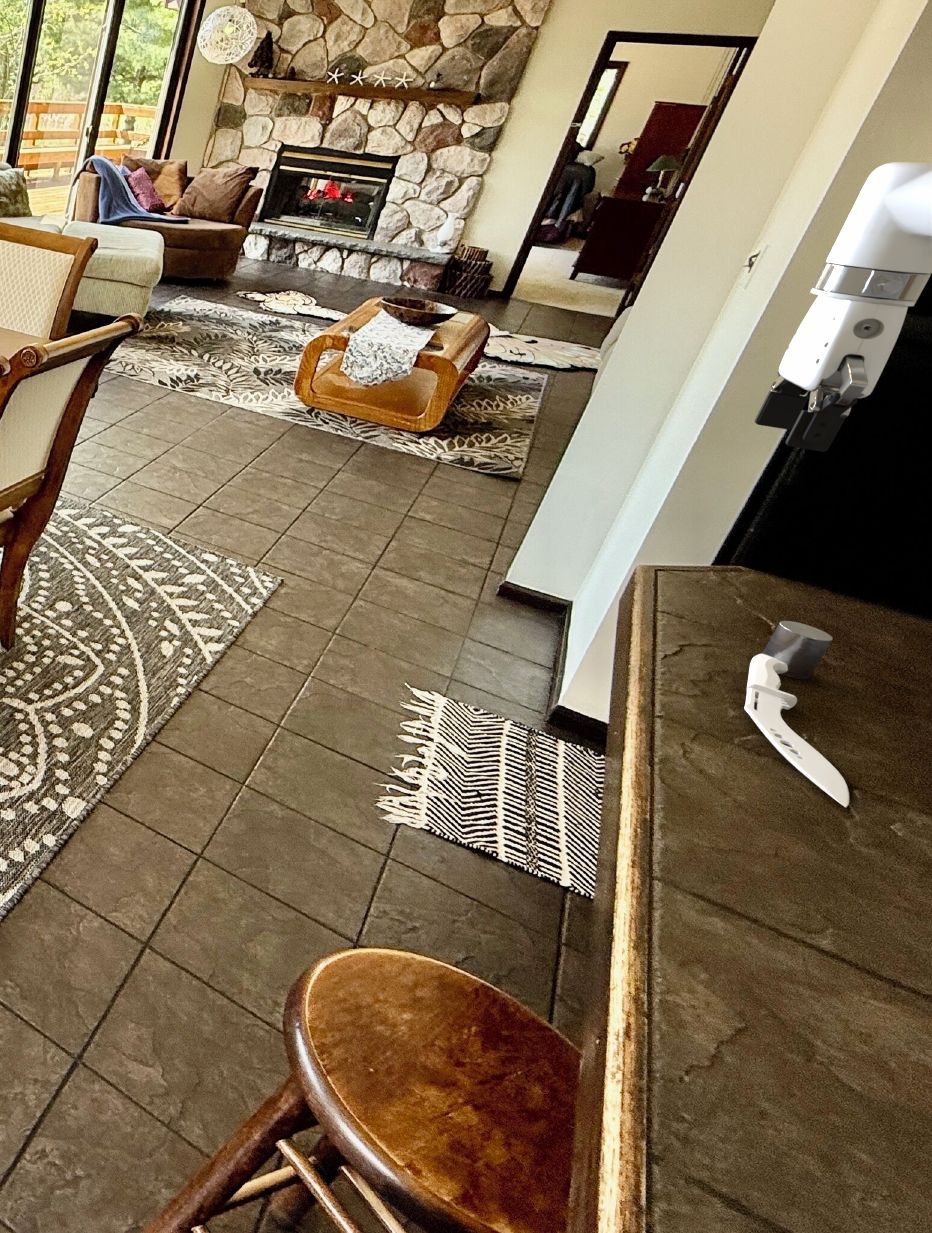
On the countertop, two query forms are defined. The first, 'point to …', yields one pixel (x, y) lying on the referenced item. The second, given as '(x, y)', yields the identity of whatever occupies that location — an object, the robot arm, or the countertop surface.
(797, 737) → the knife
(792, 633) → the cylinder
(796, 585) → the countertop surface
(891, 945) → the countertop surface
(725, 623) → the countertop surface
